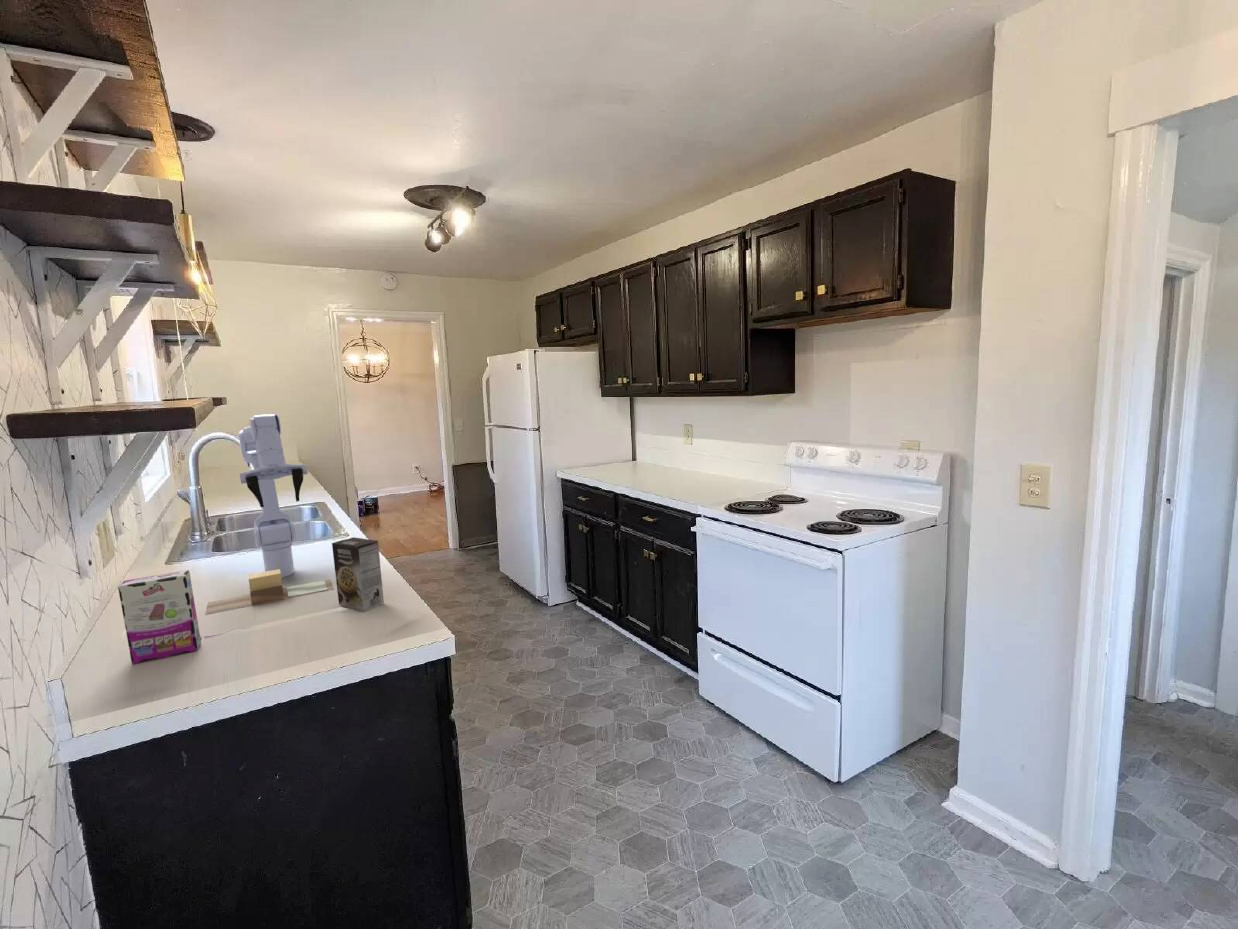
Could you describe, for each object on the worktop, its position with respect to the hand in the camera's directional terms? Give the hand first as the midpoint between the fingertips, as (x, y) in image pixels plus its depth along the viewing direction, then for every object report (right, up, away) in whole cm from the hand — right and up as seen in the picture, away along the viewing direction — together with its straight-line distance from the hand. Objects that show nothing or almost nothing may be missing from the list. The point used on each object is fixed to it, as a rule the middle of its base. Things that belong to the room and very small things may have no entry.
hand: (280, 502), depth 146 cm
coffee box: (+20, -25, +1) cm, 32 cm away
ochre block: (-7, -25, +7) cm, 27 cm away
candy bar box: (-11, -30, -22) cm, 39 cm away
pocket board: (-7, -25, +8) cm, 27 cm away
